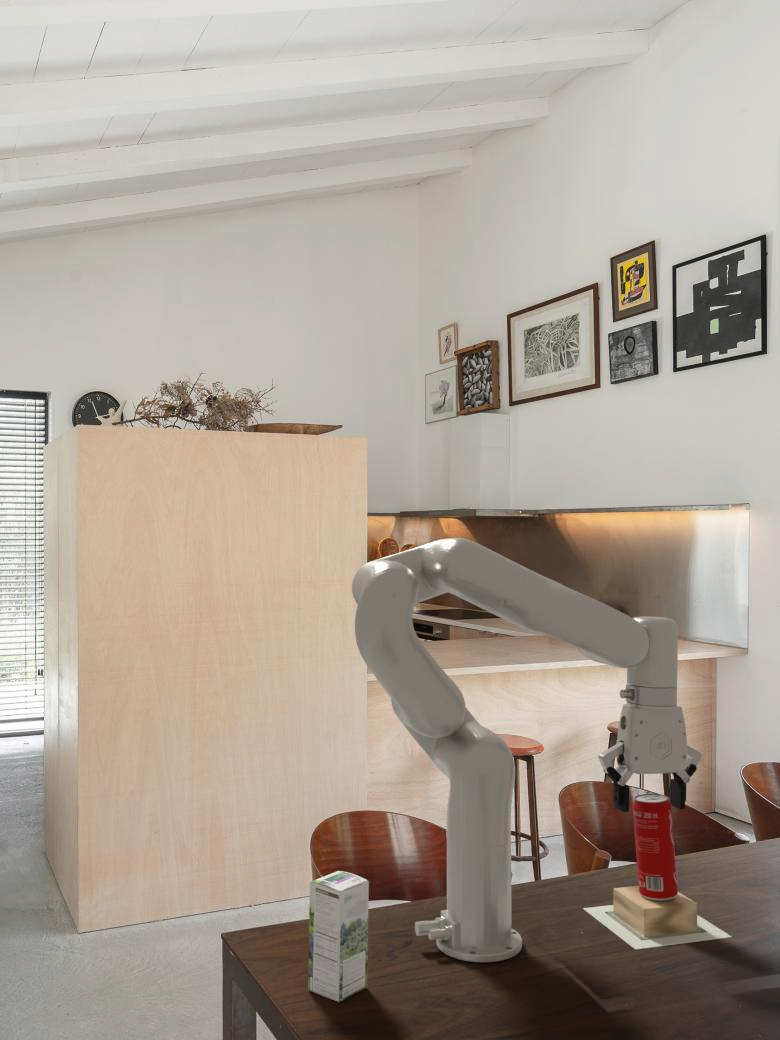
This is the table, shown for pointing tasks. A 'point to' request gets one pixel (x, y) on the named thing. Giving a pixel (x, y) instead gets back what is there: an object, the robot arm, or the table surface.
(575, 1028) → the table surface
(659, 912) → the oak block
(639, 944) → the board
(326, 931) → the syrup box
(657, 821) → the beverage can
